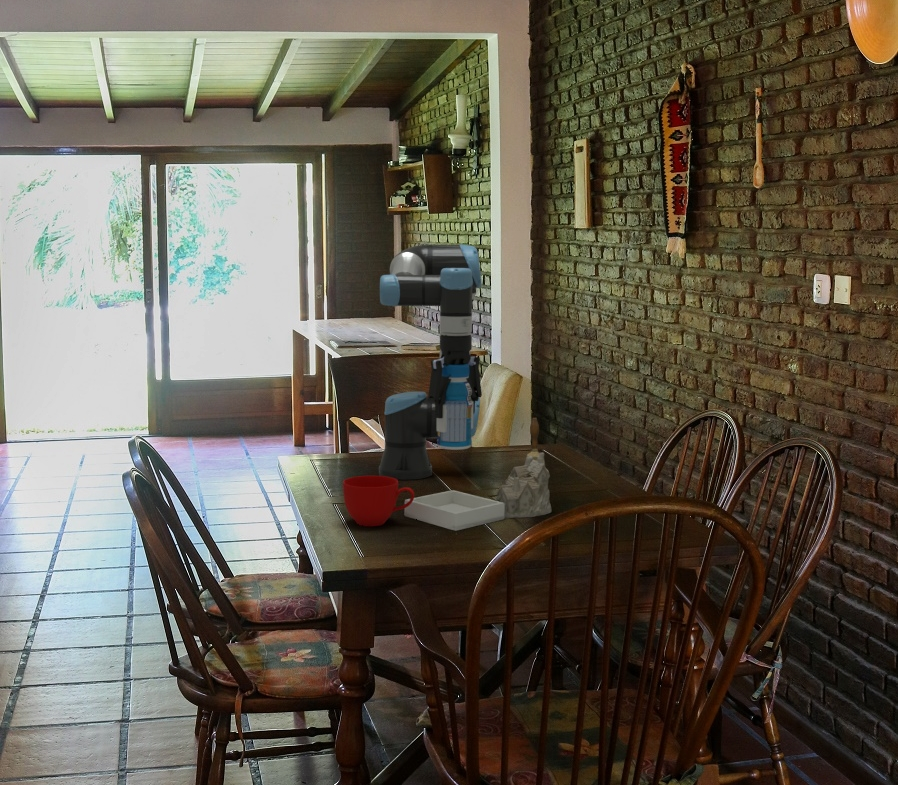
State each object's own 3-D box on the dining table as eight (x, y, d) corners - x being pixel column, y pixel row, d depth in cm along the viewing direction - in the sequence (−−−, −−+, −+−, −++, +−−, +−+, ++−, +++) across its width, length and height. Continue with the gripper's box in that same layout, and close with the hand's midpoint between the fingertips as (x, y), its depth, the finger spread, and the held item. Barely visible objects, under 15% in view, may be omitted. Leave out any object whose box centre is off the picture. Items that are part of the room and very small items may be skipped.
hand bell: (529, 476, 312) (530, 421, 310) (514, 471, 319) (515, 416, 317) (554, 474, 316) (555, 419, 314) (539, 468, 323) (540, 414, 321)
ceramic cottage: (532, 498, 285) (530, 442, 282) (562, 516, 270) (561, 456, 267) (476, 507, 279) (475, 450, 276) (504, 525, 264) (503, 465, 261)
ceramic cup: (408, 532, 252) (408, 489, 250) (336, 528, 255) (336, 486, 253) (419, 518, 264) (419, 477, 263) (351, 514, 267) (351, 474, 266)
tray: (404, 516, 266) (404, 499, 266) (453, 505, 277) (453, 490, 277) (455, 530, 253) (455, 513, 253) (504, 519, 264) (504, 502, 264)
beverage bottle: (448, 451, 257) (449, 366, 254) (429, 445, 264) (430, 362, 261) (478, 448, 261) (479, 364, 259) (459, 442, 268) (460, 360, 266)
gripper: (433, 337, 249) (433, 436, 253) (498, 332, 263) (497, 427, 266) (411, 335, 255) (411, 432, 258) (476, 330, 269) (475, 423, 272)
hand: (454, 429), depth 262 cm, fingers closed on beverage bottle, 8 cm apart
